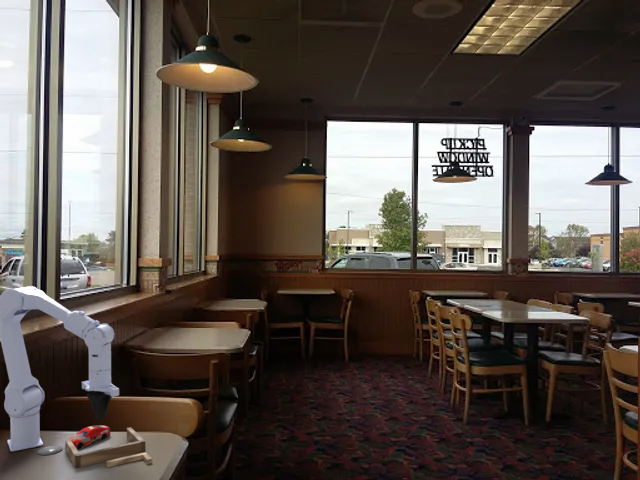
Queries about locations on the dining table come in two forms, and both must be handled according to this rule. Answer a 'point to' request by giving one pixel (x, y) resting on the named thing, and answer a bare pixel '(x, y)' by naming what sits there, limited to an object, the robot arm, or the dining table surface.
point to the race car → (90, 436)
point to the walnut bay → (106, 451)
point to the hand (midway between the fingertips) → (100, 418)
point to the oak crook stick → (129, 459)
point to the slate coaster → (50, 450)
